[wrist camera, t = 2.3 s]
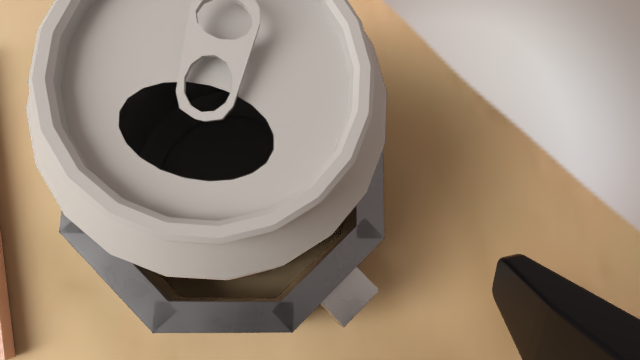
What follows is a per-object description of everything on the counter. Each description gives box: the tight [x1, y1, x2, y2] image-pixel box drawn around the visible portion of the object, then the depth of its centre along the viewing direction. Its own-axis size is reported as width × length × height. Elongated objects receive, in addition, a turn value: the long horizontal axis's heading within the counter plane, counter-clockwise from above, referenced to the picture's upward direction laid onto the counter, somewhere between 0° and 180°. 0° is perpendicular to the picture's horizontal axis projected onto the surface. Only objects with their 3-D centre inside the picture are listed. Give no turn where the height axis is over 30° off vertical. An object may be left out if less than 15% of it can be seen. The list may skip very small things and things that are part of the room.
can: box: [26, 0, 387, 280], centre depth 15 cm, size 8×8×12 cm
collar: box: [59, 150, 384, 333], centre depth 19 cm, size 13×11×3 cm
